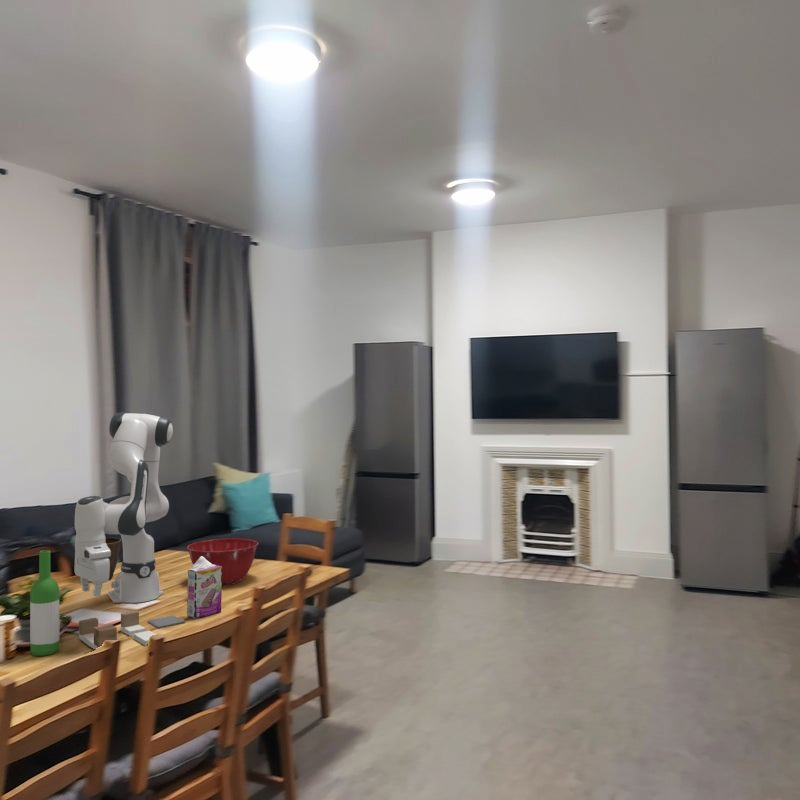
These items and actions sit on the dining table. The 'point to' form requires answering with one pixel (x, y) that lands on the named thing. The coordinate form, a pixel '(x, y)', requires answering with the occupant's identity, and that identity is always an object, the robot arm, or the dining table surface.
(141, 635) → the strip broken
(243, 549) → the mixing bowl
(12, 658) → the dining table surface
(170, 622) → the coaster
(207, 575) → the candy bar box
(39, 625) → the wine bottle
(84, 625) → the strip
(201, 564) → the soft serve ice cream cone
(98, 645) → the cube
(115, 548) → the plant pot
